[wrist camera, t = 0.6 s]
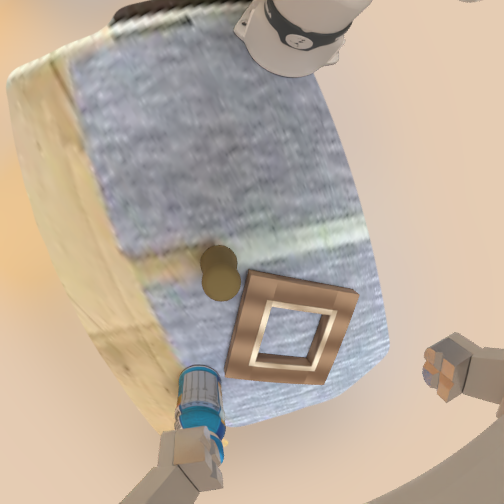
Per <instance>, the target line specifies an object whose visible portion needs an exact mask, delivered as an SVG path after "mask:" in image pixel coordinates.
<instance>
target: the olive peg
mask: <svg viewBox="0 0 504 504" xmlns="http://www.w3.org/2000/svg"><path fill="white" fill-rule="evenodd" d="M200 264H201V269H202V272H203V276H202V287H203V290H204V292H205V293H206V295H207V296H209V297H210V298H211V299H213V300H215V301H228V300H230V299H232V298H233V297H234V296H235V295H236V294H237V293H238V291H239V289H240V285H241V279H240V275H239V273H238V271H237V257H236V255H235V254H234V252H233V251H232V250H231V249H230V248H228V247H226V246H221V245H217V246H212V247H210V248H208V249H207V250H206V251H205V252H204V253H203V255H202V257H201V263H200Z"/></svg>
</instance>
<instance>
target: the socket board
mask: <svg viewBox="0 0 504 504" xmlns="http://www.w3.org/2000/svg"><path fill="white" fill-rule="evenodd" d="M358 298H359V294H358V293H357V292H356V291H354V290H353V289H350V288H344V287H339V286H333V285H328V284H322V283H317V282H312V281H306V280H301V279H296V278H291V277H285V276H280V275H275V274H270V273H265V272H259V271H254V270H248V274H247V278H246V282H245V286H244V290H243V294H242V298H241V302H240V306H239V310H238V314H237V318H236V322H235V326H234V330H233V334H232V338H231V342H230V346H229V350H228V354H227V358H226V362H225V366H224V372H225V377H227V378H235V379H244V380H253V381H264V382H276V383H291V384H311V385H324V383H325V381H326V379H327V377H328V374H329V372H330V370H331V367H332V365H333V363H334V360H335V358H336V356H337V353H338V351H339V348H340V346H341V343H342V341H343V338H344V336H345V333H346V330H347V328H348V325H349V323H350V320H351V317H352V314H353V312H354V309H355V306H356V303H357V300H358ZM271 307H278V308H284V309H291V310H297V311H304V312H311V313H318V314H322V316H321V319H320V322H319V325H318V328H317V330H316V333H315V336H314V339H313V341H312V344H311V347H310V350H309V352H308V355H307V358H304V357H293V356H283V355H273V354H265V353H258V351H259V348H260V344H261V341H262V338H263V334H264V331H265V328H266V324H267V321H268V317H269V314H270V310H271Z"/></svg>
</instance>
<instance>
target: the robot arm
mask: <svg viewBox="0 0 504 504" xmlns="http://www.w3.org/2000/svg"><path fill="white" fill-rule="evenodd" d="M459 1H463V2H477V1H481V0H459ZM371 2H372V0H253V1H252V3H251V4H250V5H249V7H248V8H247V9H246V11H245V12H244V14H243V15H242V17H241V18H240V19H239V21H238V22H237V24H236V25H235V27H234V33H235V34H236V35H237V36H238V37H239V38H240V39H241V40H243V41H244V43H245V44H246V47H247V49H248V51H249V53H250V55H251V56H252V58H253V59H254V60H255V61H256V62H257V63H258V64H259V65H260V66H262V67H263V68H265V69H266V70H268V71H270V72H272V73H275V74H277V75H281V76H285V77H302V76H307V75H309V74H312V73H314V72H315V71H317V70H318V69H319V68H321V67H323V66H328V65H333V64H335V63H337V61H338V60H339V49H340V48H341V47H342V46H343V45H344V43H345V39H344V34H345V33H346V32H347V31H348V29H349V27H350V26H351V24H352V21H353V20H354V19H355V18H356V17H357V16H358V15H359V14H360V13H361V12H362V11H363V10H364V9H365V8H366V7H368V6H369V5H370V3H371ZM242 24H246V26H243V25H242ZM424 358H425V359H426V362H425V364H424V366H423V377H424V380H425V382H426V383H427V385H429V386H430V387H431V388H436V389H437V394H438V395H439V396H440V397H441V398H442V399H443V400H444V401H445V402H446V403H447V402H449V401H451V400H452V399H453V398H455V397H457V396H458V395H460V394H461V393H463V394H465V395H468V396H471V397H475V398H478V399H482V400H485V401H489V402H493V403H496V404H500V406H499V409H498V411H497V414H496V417H497V418H498V420H496V421H495V422H494V423H493V424H492V425H491V426H489V428H487V429H486V430H485V431H483V432H482V433H481V434H480V435H479V436H477V437H476V438H475V439H473V440H472V441H471V442H470V443H468V444H467V445H466V446H464V447H463V448H462V449H460V450H459V451H457V452H456V453H454V454H453V455H452V456H450V457H449V458H447V459H446V460H444V461H443V462H441V463H440V464H438V465H437V466H435V467H433V468H432V469H430V470H429V471H427V472H425V473H424V474H422V475H420V476H419V477H417V478H415V479H413V480H412V481H410V482H408V483H406V484H404V485H402V486H401V487H399V488H397V489H395V490H393V491H391V492H389V493H387V494H385V495H382V496H380V497H378V498H376V499H374V500H372V501H370V502H367V503H365V504H504V349H499V348H488V347H484V348H483V349H482V348H481V347H479V346H477V345H476V344H474V343H473V342H471V341H470V340H468V339H467V338H465V337H464V336H462V335H461V334H459V333H456V332H454V333H453V334H451V335H449V336H448V337H446V338H445V339H443V340H441V341H439V342H437V343H436V344H434V345H432V346H430V347H429V348H427V349H426V351H425V353H424ZM220 464H221V459H220V454H219V450H218V447H217V445H216V443H215V441H214V440H213V439H211V438H210V431H209V430H208V428H207V426H200V427H193V428H186V429H178V430H171V431H163V433H162V434H161V439H160V448H159V456H158V465H157V467H153V468H152V469H151V470H150V471H149V473H148V474H147V475H146V476H145V477H144V478H143V479H142V480H141V481H140V482H139V483H138V484H137V485H136V486H135V488H134V489H133V490H132V491H131V492H130V493H129V494H128V495H127V496H126V497H125V498H124V499H123V500H122V501H121V502H120V503H119V504H194V502H195V500H196V498H197V497H198V495H199V492H202V491H209V490H216V489H221V488H223V478H222V473H221V471H220V469H219V468H218V467H219V466H220Z"/></svg>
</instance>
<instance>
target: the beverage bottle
mask: <svg viewBox="0 0 504 504" xmlns="http://www.w3.org/2000/svg"><path fill="white" fill-rule="evenodd" d="M200 426H207V428H208V430H209V431H210V438H211V439H213V440H214V441H215V443H216V445H217V447H218V450H219V454H220V459H221V463H222V462H223V459H224V452H223V445H222V442H221V440H222V439H223V437H224V434H225V431H226V426H225V412H224V410H223V402H222V392H221V379H220V377H219V375H218V374H217V373H216V372H215V371H214V370H213V369H211V368H209V367H206V366H192V367H189V368H187V369H186V370H184V371H183V372H182V374H181V375H180V378H179V392H178V401H177V407H176V409H175V425H174V427H175V430H178V429H186V428H193V427H200ZM220 465H221V464H220Z"/></svg>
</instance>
